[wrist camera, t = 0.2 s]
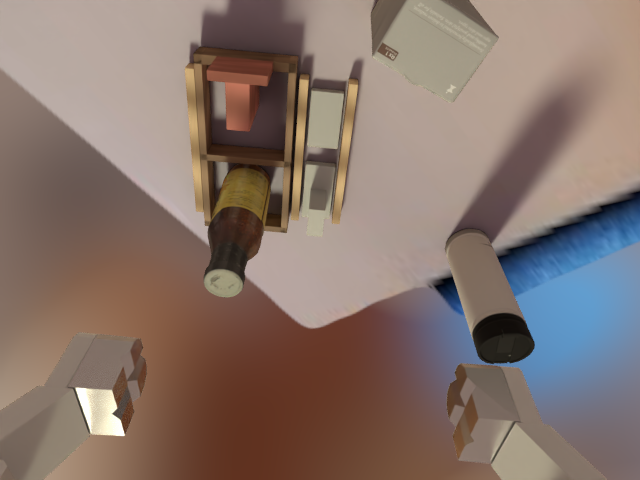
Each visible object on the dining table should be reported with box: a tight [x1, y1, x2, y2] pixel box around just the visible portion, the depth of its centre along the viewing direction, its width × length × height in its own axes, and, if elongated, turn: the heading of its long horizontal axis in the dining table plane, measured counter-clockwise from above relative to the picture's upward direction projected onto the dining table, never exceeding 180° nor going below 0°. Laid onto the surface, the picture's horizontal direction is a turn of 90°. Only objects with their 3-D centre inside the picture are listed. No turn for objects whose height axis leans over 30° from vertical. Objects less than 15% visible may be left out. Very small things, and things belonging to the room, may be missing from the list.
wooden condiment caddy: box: [193, 47, 298, 233], centre depth 56 cm, size 22×11×8 cm, turn 175°
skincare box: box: [371, 0, 499, 103], centre depth 44 cm, size 8×7×16 cm
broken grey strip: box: [302, 88, 344, 237], centre depth 58 cm, size 18×4×6 cm, turn 175°
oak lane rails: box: [185, 63, 358, 224], centre depth 59 cm, size 19×19×2 cm
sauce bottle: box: [204, 164, 271, 297], centre depth 55 cm, size 6×6×20 cm
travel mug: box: [445, 229, 535, 364], centre depth 60 cm, size 6×7×20 cm
